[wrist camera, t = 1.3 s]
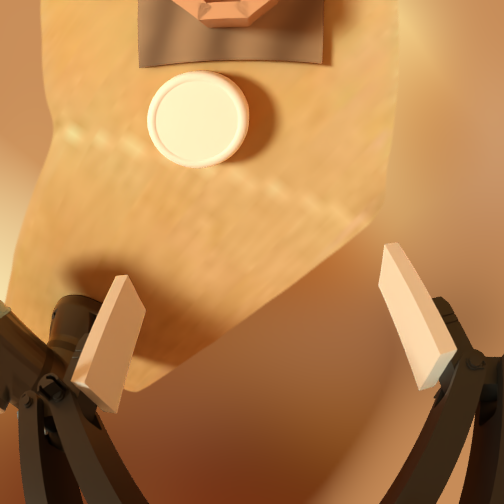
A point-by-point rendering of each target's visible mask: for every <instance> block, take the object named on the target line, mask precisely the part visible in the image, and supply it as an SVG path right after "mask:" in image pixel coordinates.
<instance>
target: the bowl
mask: <svg viewBox="0 0 504 504" xmlns="http://www.w3.org/2000/svg"><path fill="white" fill-rule="evenodd" d="M172 1H173V2H175V3H176V4H177V5H179V6H180V7H182V8H183V9H185V10H186V11H187V12H189V13H190V14H191V15H193V16H194V17H195V18H197V19H198V20H199V21H200V22H201V23H203V24H204V25H205V26H206V27H208V28H219V27H249V26H250V25H251V24H252V23H254V22H255V21H256V20H257V19H258V18H260V17H261V16H262V15H263V14H265V13H266V12H267V11H268V10H270V9H271V8H272V7H274V6H275V5H276V4H277V3H278V1H279V0H172Z"/></svg>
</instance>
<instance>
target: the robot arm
mask: <svg viewBox="0 0 504 504" xmlns="http://www.w3.org/2000/svg"><path fill="white" fill-rule="evenodd" d="M378 286H379V288H380V290H381V293H382V295H383V297H384V299H385V302H386V304H387V306H388V309H389V311H390V314H391V316H392V319H393V321H394V324H395V326H396V329H397V331H398V334H399V336H400V339H401V341H402V344H403V347H404V350H405V352H406V355H407V358H408V361H409V363H410V366H411V369H412V372H413V374H414V378H415V381H416V384H417V387H418V390H419V391H421V390H424V389H427V388H430V387H434V386H435V384H436V383H437V381H438V380H439V382H440V384H441V388H440V389H439V390H438V392H437V393H436V395H435V396H434V398H435V402H434V404H433V406H432V409H431V411H430V413H429V416H428V418H427V420H426V422H425V424H424V427H423V429H422V431H421V433H420V435H419V437H418V439H417V441H416V443H415V445H414V447H413V449H412V451H411V452H410V454H409V456H408V458H407V460H406V462H405V463H404V465H403V467H402V469H401V470H400V472H399V474H398V476H397V477H396V479H395V480H394V482H393V484H392V485H391V487H390V488H389V490H388V491H387V493H386V495H385V496H384V498H383V499H382V501H381V502H380V503H379V504H436V502H437V501H438V499H439V497H440V495H441V493H442V491H443V489H444V487H445V485H446V484H447V482H448V479H449V477H450V475H451V473H452V471H453V469H454V467H455V464H456V462H457V460H458V457H459V455H460V453H461V450H462V448H463V445H464V443H465V440H466V438H467V435H468V432H469V429H470V427H471V423H472V421H473V418H474V415H475V421H474V430H473V437H472V444H471V451H470V456H469V462H468V467H467V472H466V477H465V481H464V486H463V490H462V493H461V497H460V501H459V504H504V355H503V356H502V357H485V356H484V354H483V353H482V352H480V351H478V350H475V349H473V347H472V346H471V344H470V341H469V339H468V338H467V336H466V334H465V332H464V330H463V328H462V326H461V324H460V322H458V319H457V317H456V315H455V314H454V311H453V309H452V308H451V306H450V304H449V303H448V302H447V301H446V300H445V299H443V298H442V297H436V298H432V299H431V297H430V295H429V293H428V292H427V290H426V288H425V286H424V284H423V282H422V281H421V279H420V277H419V276H418V274H417V272H416V270H415V269H414V267H413V266H412V264H411V262H410V261H409V259H408V257H407V256H406V254H405V253H404V251H403V249H402V248H401V246H400V245H399V243H391V244H385V245H384V252H383V260H382V266H381V273H380V279H379V285H378ZM145 313H146V309H145V307H144V305H143V304H142V302H141V300H140V298H139V296H138V294H137V292H136V290H135V288H134V286H133V284H132V282H131V280H130V278H129V276H128V275H120V276H116V277H115V279H114V281H113V283H112V285H111V287H110V289H109V291H108V293H107V295H106V298H105V300H104V302H103V304H101V303H99V302H97V301H95V300H93V299H90V298H87V297H84V296H78V295H69V296H65V297H63V298H61V299H60V300H59V301H58V303H57V305H56V306H55V308H54V310H53V313H52V321H51V326H50V334H49V341H48V343H47V345H46V344H45V343H44V342H43V341H41V340H40V339H39V338H38V337H37V336H36V335H35V334H34V333H33V332H32V331H31V330H30V329H29V328H28V327H27V326H26V325H25V324H24V323H23V322H22V321H21V320H20V319H19V318H18V317H17V316H16V315H15V314H14V313H13V312H12V311H11V308H10V307H7V306H6V305H5V304H4V303H3V302H2V301H1V300H0V413H4V412H5V410H6V408H7V406H8V404H9V403H11V404H12V405H14V406H15V407H17V408H18V409H19V411H17V418H18V421H19V422H18V423H19V424H18V425H19V451H20V464H21V474H22V482H23V489H24V496H25V501H26V504H83V501H82V497H81V493H80V489H81V491H82V493H83V495H84V497H85V499H86V501H87V503H88V504H149V503H148V502H147V500H146V499H145V497H144V496H143V494H142V493H141V491H140V489H139V488H138V486H137V485H136V483H135V482H134V480H133V478H132V477H131V475H130V473H129V472H128V470H127V468H126V467H125V465H124V463H123V461H122V460H121V458H120V456H119V454H118V452H117V450H116V449H115V447H114V445H113V443H112V441H111V439H110V437H109V435H108V433H107V431H106V429H105V427H104V425H103V423H102V421H101V419H100V416H99V415H98V413H97V412H96V408H97V406H98V407H99V408H100V409H101V410H102V411H104V412H110V413H117V411H118V407H119V403H120V399H121V394H122V391H123V387H124V384H125V380H126V376H127V373H128V369H129V365H130V362H131V359H132V355H133V352H134V348H135V345H136V342H137V338H138V335H139V332H140V329H141V326H142V322H143V319H144V316H145ZM79 487H80V489H79Z"/></svg>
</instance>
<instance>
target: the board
mask: <svg viewBox="0 0 504 504" xmlns="http://www.w3.org/2000/svg"><path fill="white" fill-rule="evenodd" d="M323 26H324V0H279V1H278V3H277V4H276V5H275V6H274V7H272V8H271V9H270V10H268V11H267V12H266V13H265V14H263V15H262V16H261V17H260V18H258V19H257V20H256V21H255V22H254V23H252V24H251V25H250V26H249V27H219V28H208V27H206V26H205V25H204V24H203V23H201V22H200V21H199V20H198V19H197V18H195V17H194V16H193V15H191V14H190V13H189V12H187V11H186V10H185V9H183V8H182V7H180V6H179V5H177V4H176V3H175V2H173V1H172V0H138V51H139V68H144V67H151V66H158V65H166V64H175V63H185V62H197V61H214V60H279V61H296V62H308V63H318V64H322V56H323Z"/></svg>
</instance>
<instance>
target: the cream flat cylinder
mask: <svg viewBox="0 0 504 504" xmlns="http://www.w3.org/2000/svg"><path fill="white" fill-rule="evenodd" d="M147 123H148V130H149V134H150V137H151V139H152V141H153V143H154V145H155V146H156V148H157V149H158V150H159V151H160V152H161V153H162V154H163V155H164V156H165V157H166V158H168V159H169V160H171V161H172V162H174V163H177V164H179V165H182V166H185V167H190V168H206V167H211V166H214V165H217V164H219V163H221V162H223V161H225V160H227V159H228V158H230V157H231V156H232V155H233V154H234V153H235V152H236V151H237V150H238V149H239V147H240V146H241V145H242V143H243V141H244V139H245V137H246V134H247V131H248V127H249V106H248V103H247V100H246V98H245V96H244V94H243V92H242V91H241V89H240V88H239V87H238V86H237V85H236V84H235V83H234V82H233V81H232V80H230V79H229V78H227V77H226V76H224V75H221V74H219V73H216V72H212V71H202V70H199V71H191V72H186V73H182V74H180V75H177V76H175V77H173V78H172V79H170V80H169V81H167V82H166V83H165V84H164V85H163V86H162V87H161V88H160V89H159V90H158V91H157V93H156V94H155V96H154V97H153V99H152V102H151V104H150V107H149V111H148V120H147Z"/></svg>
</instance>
